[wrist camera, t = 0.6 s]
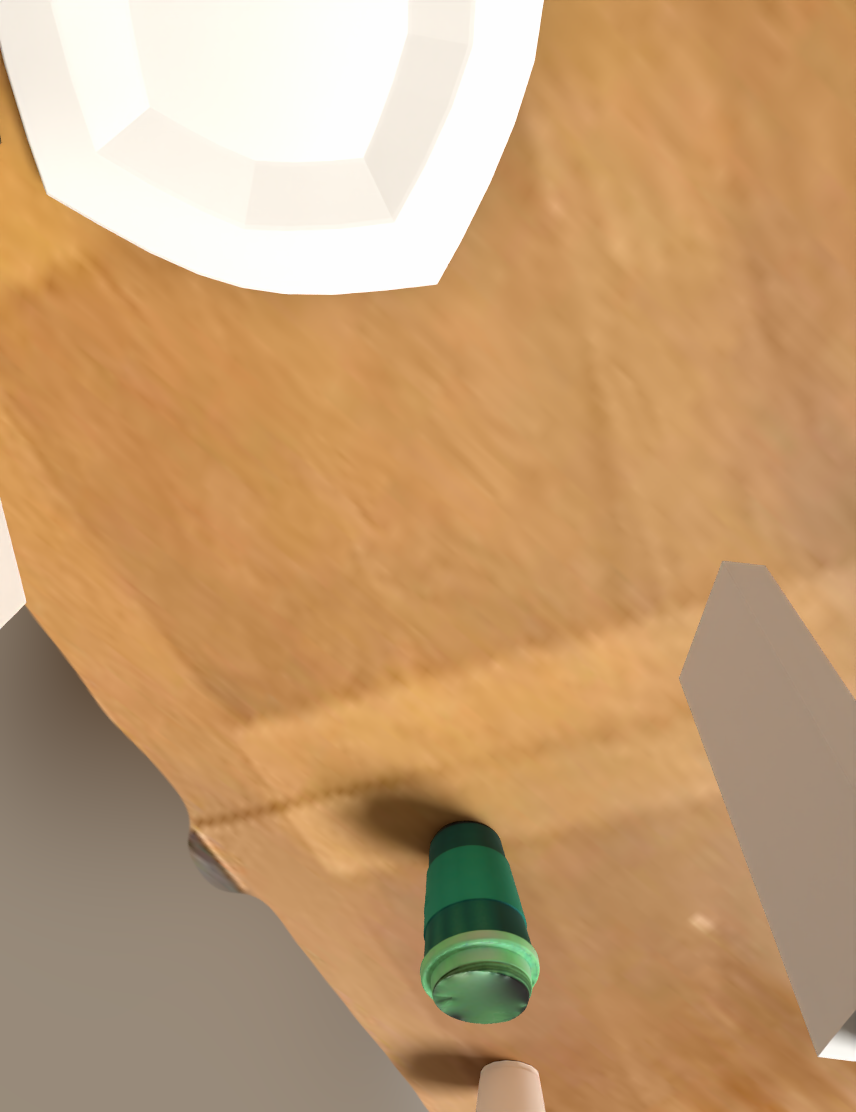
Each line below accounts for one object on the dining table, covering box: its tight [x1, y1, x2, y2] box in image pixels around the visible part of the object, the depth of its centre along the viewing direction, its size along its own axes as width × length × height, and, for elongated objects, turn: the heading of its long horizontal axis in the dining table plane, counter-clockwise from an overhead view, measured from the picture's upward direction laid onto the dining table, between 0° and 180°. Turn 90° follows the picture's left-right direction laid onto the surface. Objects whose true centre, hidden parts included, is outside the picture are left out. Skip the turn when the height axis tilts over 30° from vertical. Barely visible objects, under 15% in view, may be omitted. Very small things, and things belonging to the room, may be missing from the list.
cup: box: [420, 821, 539, 1024], centre depth 51 cm, size 8×8×12 cm
